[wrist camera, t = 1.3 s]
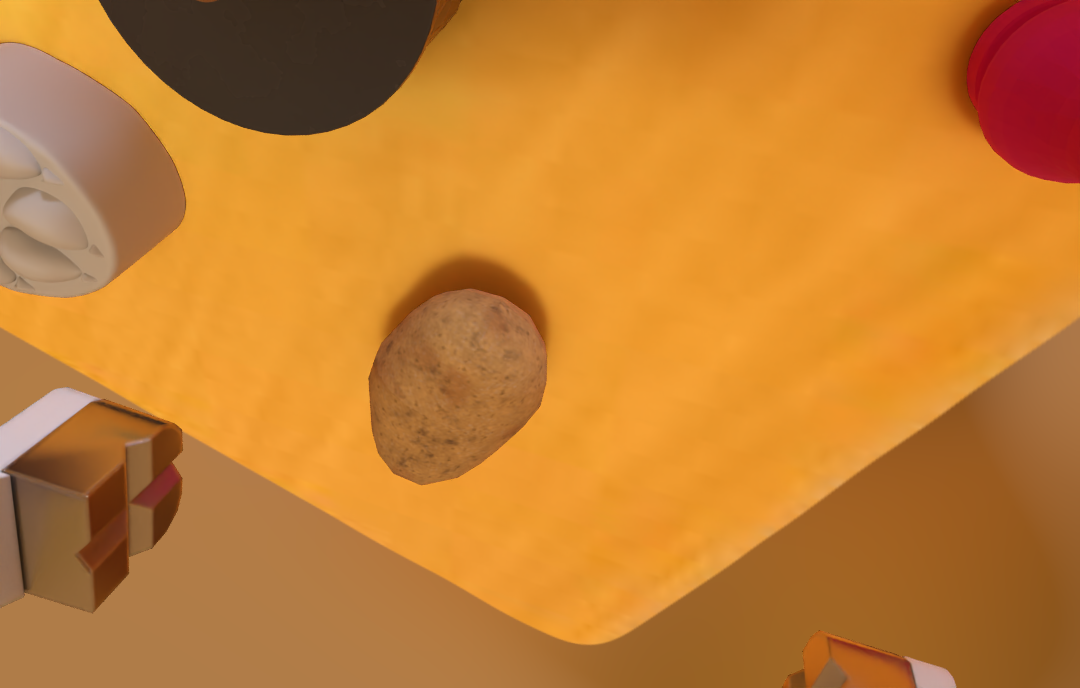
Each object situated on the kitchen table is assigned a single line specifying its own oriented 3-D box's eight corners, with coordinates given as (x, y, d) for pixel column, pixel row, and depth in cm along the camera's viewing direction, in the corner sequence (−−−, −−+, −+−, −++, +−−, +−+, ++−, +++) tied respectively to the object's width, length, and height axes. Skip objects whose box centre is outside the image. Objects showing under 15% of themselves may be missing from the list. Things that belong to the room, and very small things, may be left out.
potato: (363, 387, 55) (317, 468, 48) (443, 223, 47) (400, 293, 40) (492, 451, 56) (464, 538, 49) (591, 302, 48) (573, 382, 41)
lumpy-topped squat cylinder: (-10, 16, 44) (-146, 59, 37) (208, 150, 47) (120, 214, 39) (-36, 165, 50) (-158, 226, 43) (160, 277, 52) (75, 353, 45)
